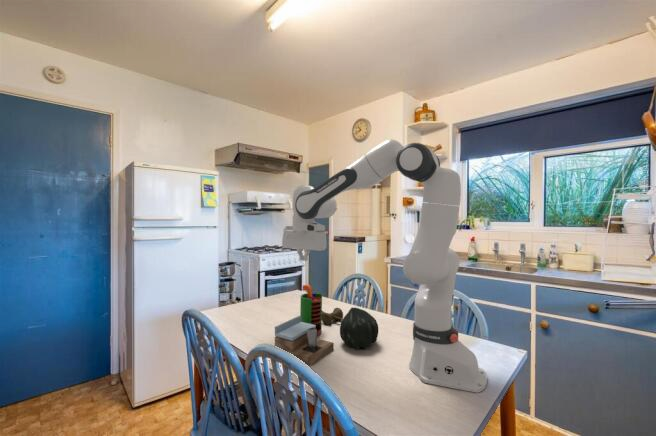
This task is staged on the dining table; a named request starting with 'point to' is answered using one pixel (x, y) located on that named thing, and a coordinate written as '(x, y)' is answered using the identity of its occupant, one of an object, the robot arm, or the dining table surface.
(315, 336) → the jaw peg
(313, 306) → the motor
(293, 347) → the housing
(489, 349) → the dining table surface
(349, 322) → the squash
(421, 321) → the robot arm
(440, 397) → the dining table surface
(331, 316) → the brown rope toy
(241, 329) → the dining table surface
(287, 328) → the lid
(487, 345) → the dining table surface
